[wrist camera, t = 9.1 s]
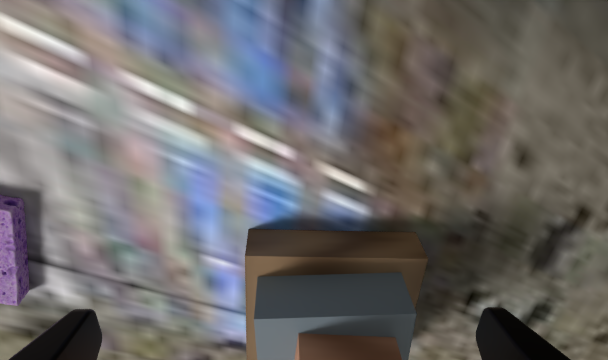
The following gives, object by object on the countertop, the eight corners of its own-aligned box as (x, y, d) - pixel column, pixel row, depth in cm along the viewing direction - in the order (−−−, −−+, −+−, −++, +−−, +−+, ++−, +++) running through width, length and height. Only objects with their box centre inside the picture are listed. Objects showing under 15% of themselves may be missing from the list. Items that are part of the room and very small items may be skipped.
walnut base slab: (413, 227, 25) (428, 258, 22) (387, 339, 29) (397, 376, 27) (249, 223, 24) (245, 255, 21) (250, 338, 29) (247, 376, 26)
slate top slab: (401, 272, 22) (416, 313, 20) (386, 365, 26) (398, 411, 24) (257, 276, 22) (253, 319, 19) (264, 370, 26) (262, 416, 23)
